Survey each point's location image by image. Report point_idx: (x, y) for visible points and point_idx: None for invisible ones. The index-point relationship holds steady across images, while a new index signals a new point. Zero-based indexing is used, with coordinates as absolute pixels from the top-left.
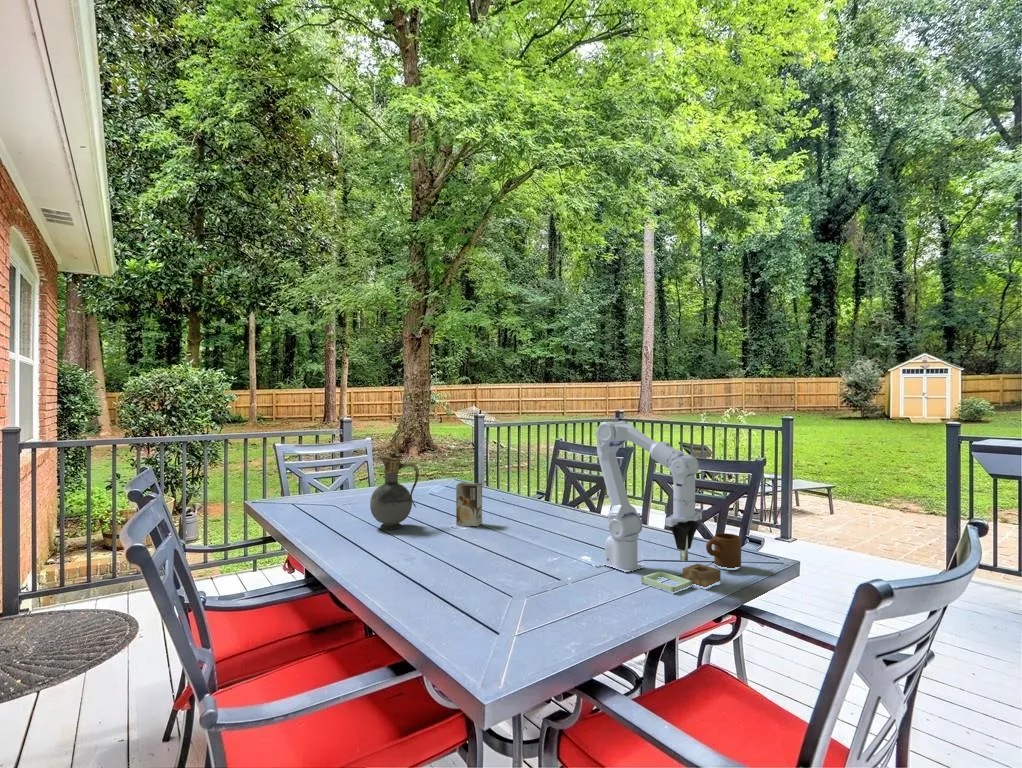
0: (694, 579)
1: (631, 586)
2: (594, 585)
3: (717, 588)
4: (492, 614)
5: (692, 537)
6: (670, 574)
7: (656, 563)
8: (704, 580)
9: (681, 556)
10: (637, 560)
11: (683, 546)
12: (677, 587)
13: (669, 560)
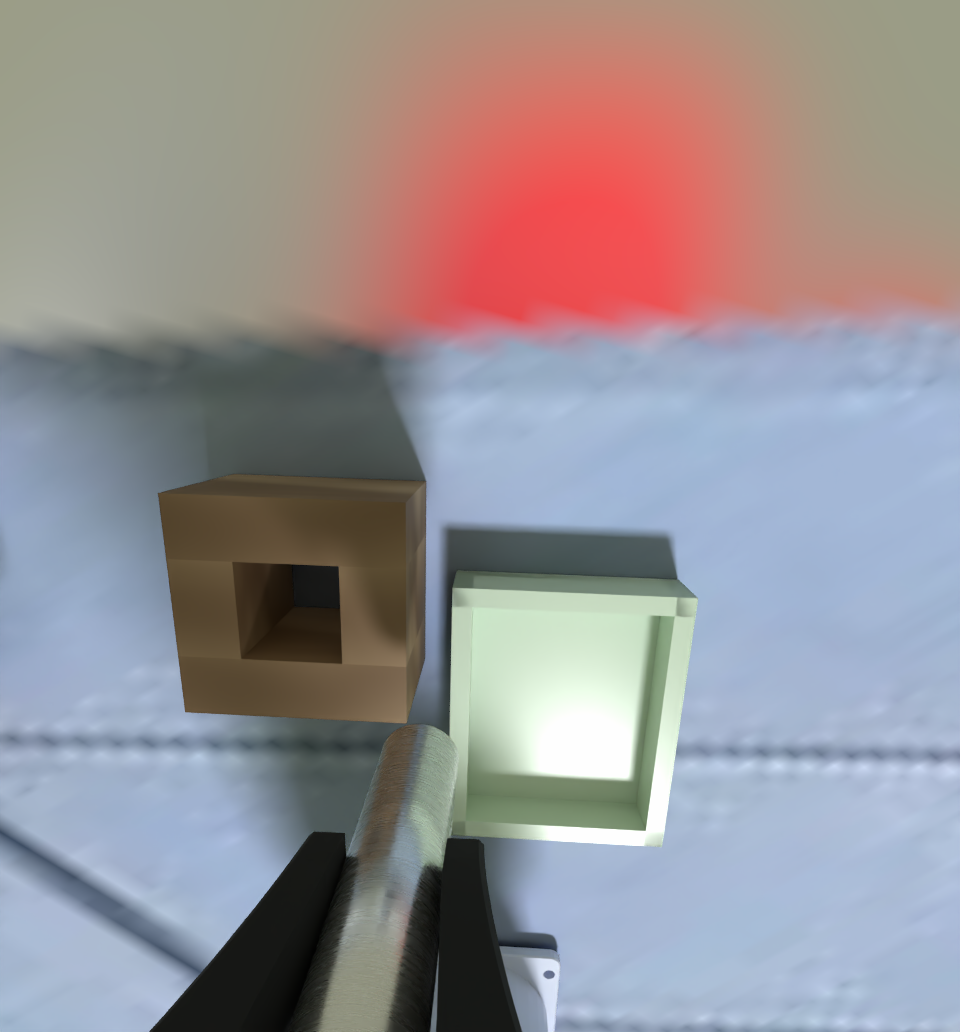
0: (417, 587)
1: (738, 817)
2: (881, 948)
3: (323, 445)
4: None
5: (201, 1015)
6: None
7: None
8: (415, 503)
9: (453, 800)
10: None
11: (486, 898)
12: (639, 591)
13: (124, 922)
